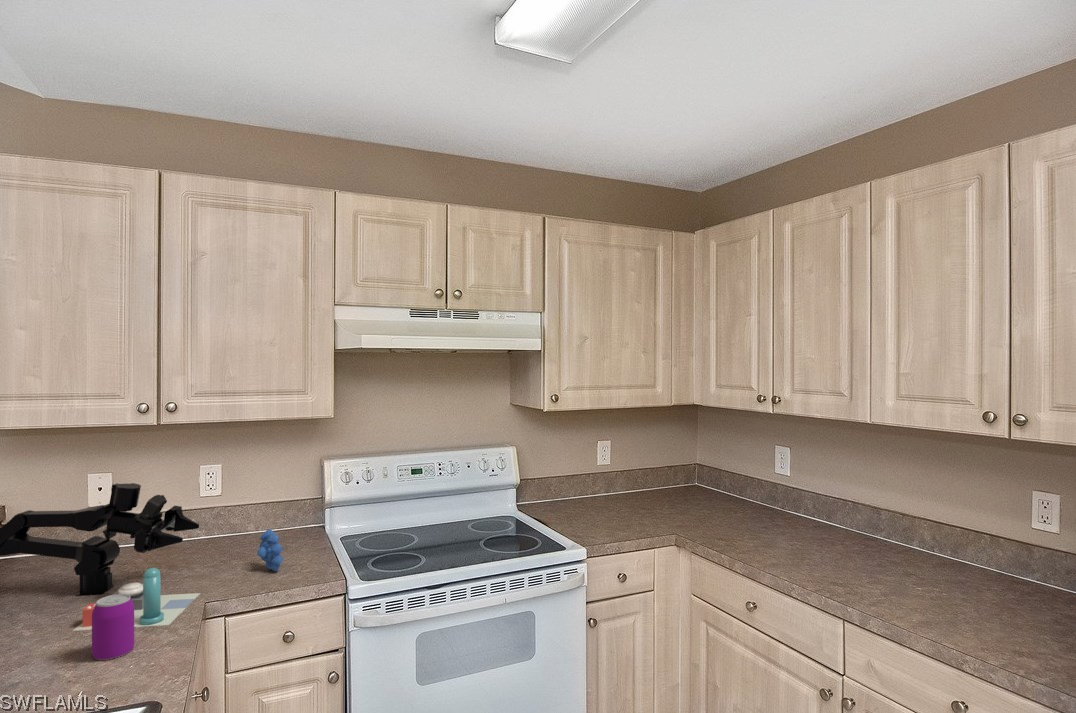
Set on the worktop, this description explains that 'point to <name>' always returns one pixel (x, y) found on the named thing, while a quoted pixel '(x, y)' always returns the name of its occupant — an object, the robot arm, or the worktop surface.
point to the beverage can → (112, 627)
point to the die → (88, 615)
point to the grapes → (270, 550)
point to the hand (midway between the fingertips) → (190, 533)
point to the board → (169, 607)
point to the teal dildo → (151, 598)
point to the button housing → (136, 601)
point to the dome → (131, 589)
